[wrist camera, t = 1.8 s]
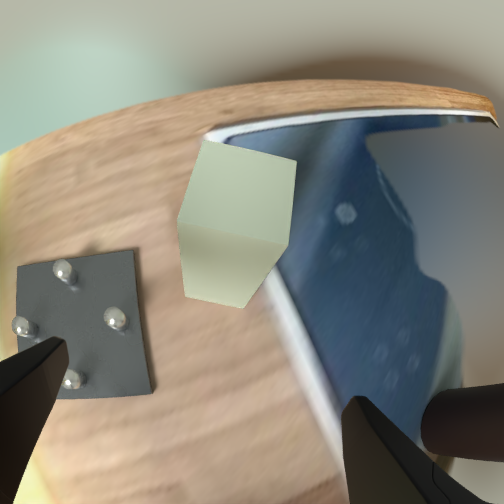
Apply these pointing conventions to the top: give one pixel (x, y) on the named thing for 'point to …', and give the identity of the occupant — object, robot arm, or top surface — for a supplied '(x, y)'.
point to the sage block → (234, 222)
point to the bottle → (466, 423)
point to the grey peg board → (87, 322)
